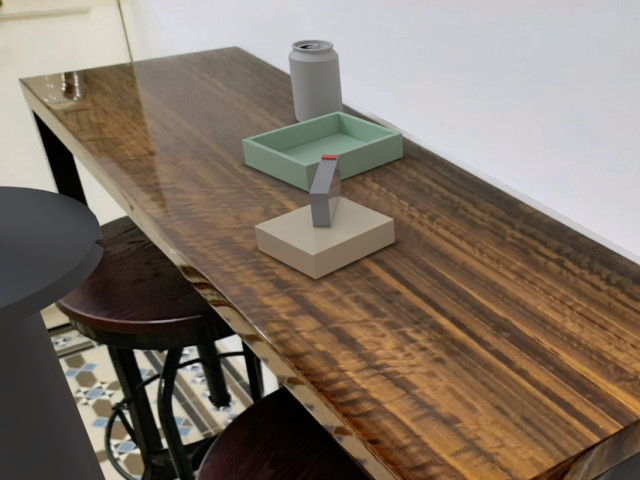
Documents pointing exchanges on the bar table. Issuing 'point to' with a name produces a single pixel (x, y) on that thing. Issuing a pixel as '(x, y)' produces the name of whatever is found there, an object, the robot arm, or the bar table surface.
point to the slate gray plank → (325, 191)
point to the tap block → (325, 237)
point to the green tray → (322, 148)
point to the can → (315, 79)
